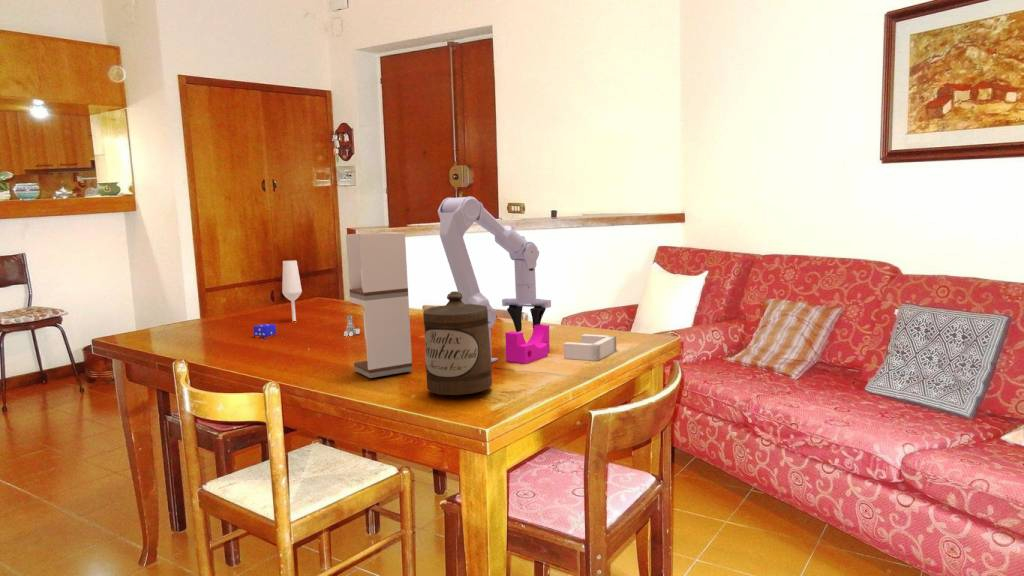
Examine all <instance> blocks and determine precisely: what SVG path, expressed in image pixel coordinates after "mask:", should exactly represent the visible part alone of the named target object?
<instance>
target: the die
mask: <svg viewBox="0 0 1024 576" xmlns="http://www.w3.org/2000/svg"><path fill="white" fill-rule="evenodd" d="M252 329H253V337H254V336H260V337H268V336H271V335H274V334H276V335H277V326H276V324H275V323H274V324H272V323H261V324H259V325H255V326H253V328H252Z"/></svg>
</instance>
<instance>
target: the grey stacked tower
mask: <svg viewBox="0 0 1024 576" xmlns="http://www.w3.org/2000/svg"><path fill="white" fill-rule="evenodd" d="M345 242H346V256H347V257H346V258H347V273H348V274H347V275H348V289H349V302H350V303H351V304H356V305H359V306H362V307H363V312H362V313H363V326H364V329H363V330H364V338H365V339H364V340H365V342H366V343H365V344H366V345H365V346H366V357H367V358H366V360H362V361H356V362H354V363H353V364H354V365H353V366H354V367H353V368H354V372H357V373H359V374H361V375H363V376H364V377H367V378H369V379H372V378H378V377H384V376H390V375H396V374H402V373H408V372H412V371H413V358H412V357H413V355H412V341H411V340H412V337H411V321H410V304H409V302H410V301H409V299H410V298H409V285H408V281H409V280H408V264H407V263H408V262H407V250H406V249H407V248H406V232H393V231H391V232H389V231H388V232H386V231H385V232H384V231H383V232H371V233H370V232H368V233H351V234H350V233H349V234H347V233H346V234H345Z"/></svg>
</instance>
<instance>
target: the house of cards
mask: <svg viewBox="0 0 1024 576" xmlns="http://www.w3.org/2000/svg"><path fill="white" fill-rule="evenodd" d="M346 317H347V319H346V321H347V326H346V330H345V331H344V333H343V337H344V336H346V337H345V338H347V336H348V335H349V336H353V335H354V336H355V335H356V334H360V335H361V328H355V324H354V323H353V316H352V315H347V316H346ZM349 336H348V337H349Z"/></svg>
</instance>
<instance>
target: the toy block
mask: <svg viewBox="0 0 1024 576" xmlns="http://www.w3.org/2000/svg"><path fill="white" fill-rule="evenodd" d="M504 334H505V362H510V363H516V364H525V365H526V364H528V363H533V362H535V361H538V360H541V359H544V358H547V357H548V353H550V325H549V324H541V323H540V324H537V325H534V329H533V328H532V334H531V335H530V338H529V339H528V341H526V339H525V336H524V333H523V331H522V332H521V331H520V332H516V331H513V330H511V331H507V332H505V333H504Z"/></svg>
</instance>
